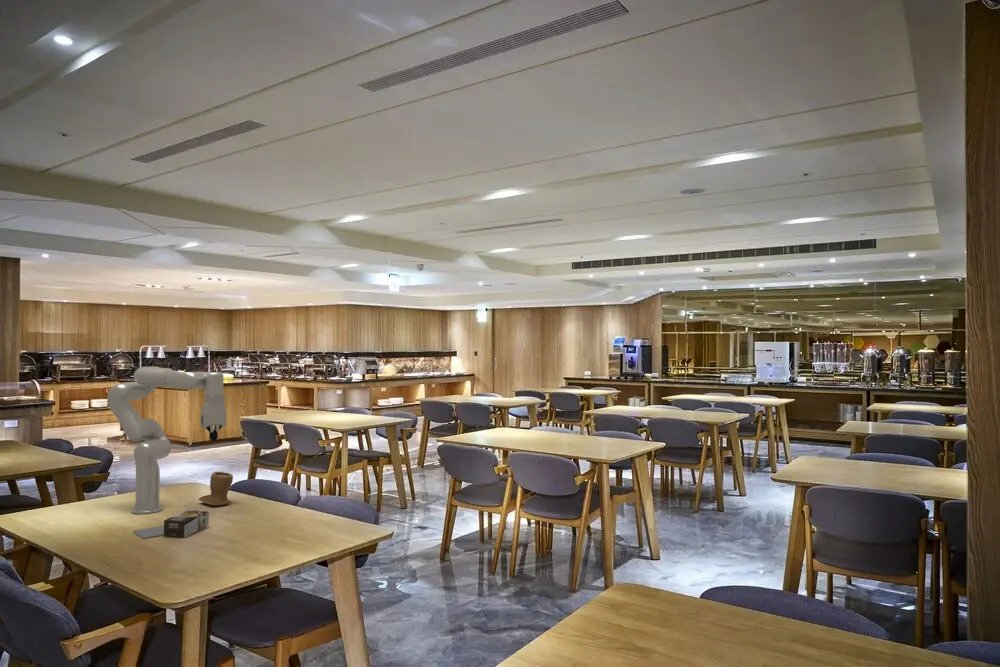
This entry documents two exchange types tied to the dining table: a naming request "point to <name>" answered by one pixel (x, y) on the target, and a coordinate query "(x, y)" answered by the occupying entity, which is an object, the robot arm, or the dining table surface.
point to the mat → (150, 532)
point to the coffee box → (186, 523)
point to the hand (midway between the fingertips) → (213, 440)
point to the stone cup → (218, 489)
